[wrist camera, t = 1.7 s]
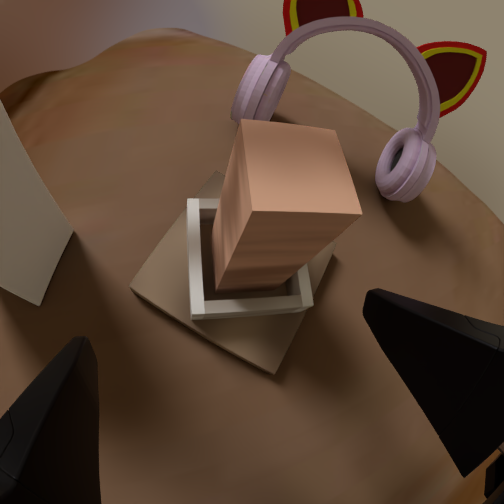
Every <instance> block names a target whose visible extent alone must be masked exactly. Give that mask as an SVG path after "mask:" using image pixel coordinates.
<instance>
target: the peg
mask: <svg viewBox="0 0 504 504" xmlns="http://www.w3.org/2000/svg"><path fill="white" fill-rule="evenodd" d="M361 215H362V211H361V207H360V204H359V200H358V197H357V194H356V190H355V187H354V184H353V181H352V178H351V175H350V172H349V169H348V166H347V163H346V160H345V157H344V154H343V151H342V148H341V145H340V143H339V140H338V137H337V135H336V132H335V130H329V129H323V128H317V127H310V126H303V125H296V124H288V123H280V122H271V121H260V120H249V119H241V120H240V124H239V127H238V131H237V134H236V138H235V142H234V145H233V149H232V153H231V157H230V160H229V164H228V168H227V172H226V176H225V180H224V184H223V188H222V192H221V196H220V200H219V204H218V208H217V212H216V216H215V220H214V225H213V229H212V233H211V249H212V264H213V278H214V291H215V294H216V293H237V292H255V291H271V290H275V289H276V288H278V287H279V286H280V285H281V284H282V283H284V282H285V281H286V280H287V279H288V278H290V277H291V276H292V275H293V274H294V273H296V272H297V271H298V270H299V269H300V268H302V267H303V266H304V265H305V264H306V263H307V262H309V261H310V260H311V259H312V258H313V257H314V256H316V255H317V254H318V253H319V252H320V251H321V250H323V249H324V248H325V247H326V246H327V245H328V244H330V243H331V242H332V241H333V240H334V239H335V238H336V237H338V236H339V235H340V234H341V233H342V232H343V231H344V230H345V229H347V228H348V227H349V226H350V225H351V224H352V223H353V222H354V221H356V220H357V219H358V218H359V217H360V216H361Z"/></svg>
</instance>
